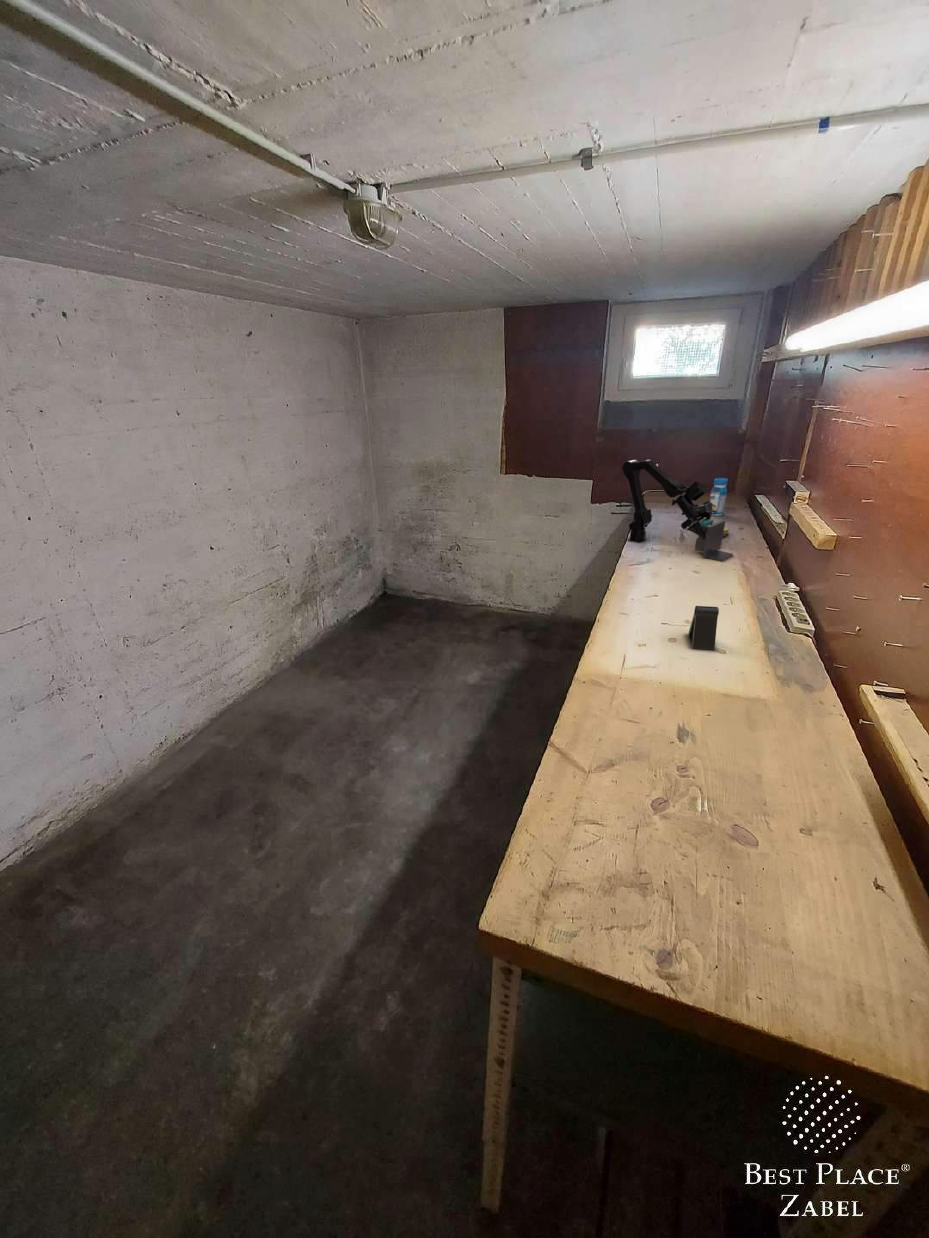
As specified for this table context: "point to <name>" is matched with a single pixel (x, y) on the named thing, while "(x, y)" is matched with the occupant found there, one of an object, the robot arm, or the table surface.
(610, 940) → the table surface
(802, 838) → the table surface
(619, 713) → the table surface
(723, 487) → the beverage bottle
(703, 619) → the phone stand
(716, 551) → the dark panel
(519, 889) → the table surface
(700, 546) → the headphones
